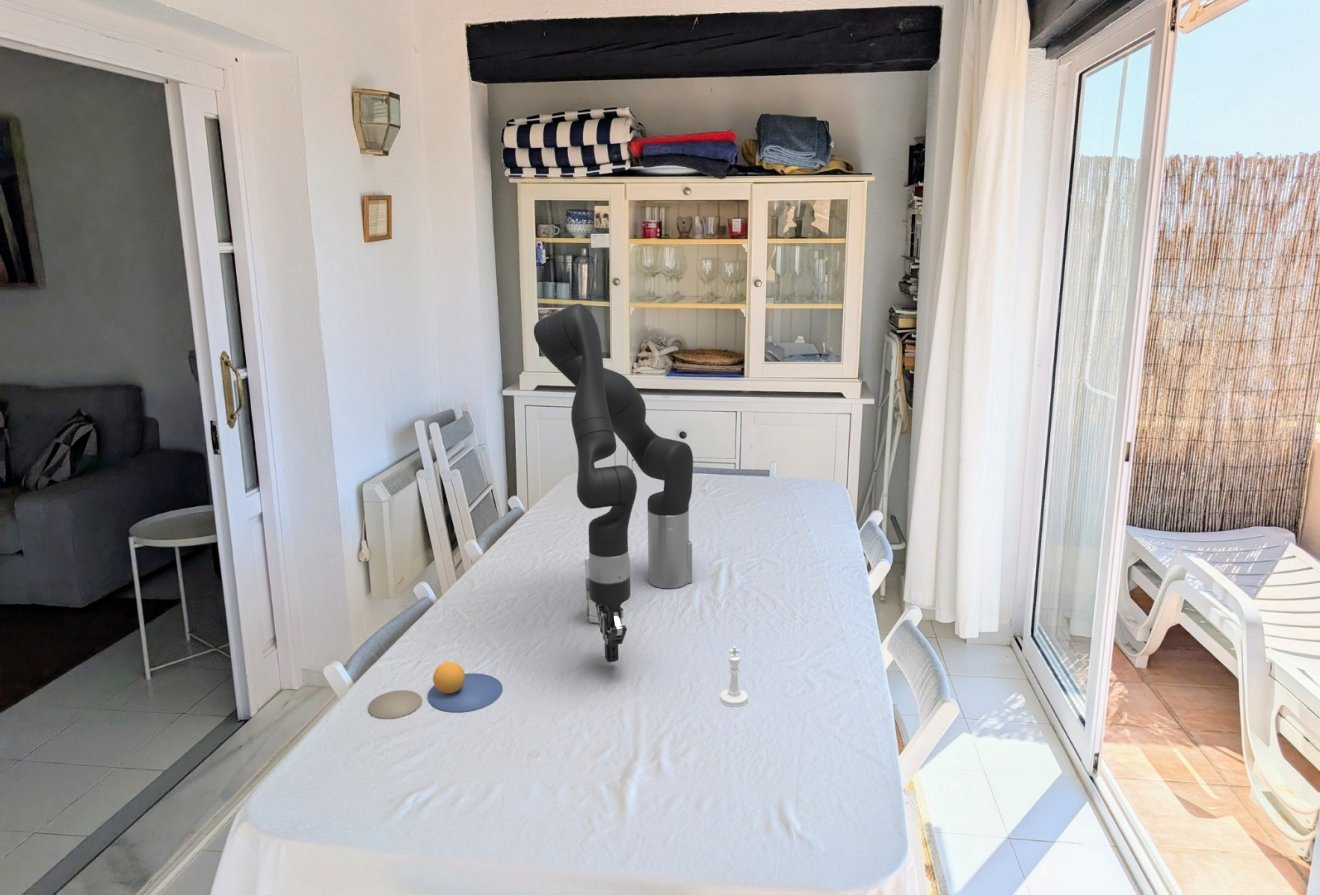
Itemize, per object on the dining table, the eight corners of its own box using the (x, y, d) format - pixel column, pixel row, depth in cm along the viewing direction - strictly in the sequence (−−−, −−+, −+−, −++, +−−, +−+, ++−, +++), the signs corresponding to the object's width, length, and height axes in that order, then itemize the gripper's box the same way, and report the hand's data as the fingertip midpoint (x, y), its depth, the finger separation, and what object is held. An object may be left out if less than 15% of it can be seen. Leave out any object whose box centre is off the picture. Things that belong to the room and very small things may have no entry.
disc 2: (496, 669, 170) (496, 668, 170) (507, 704, 158) (507, 703, 158) (424, 681, 166) (424, 680, 166) (431, 718, 154) (430, 717, 154)
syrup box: (622, 615, 192) (620, 550, 188) (611, 627, 186) (610, 560, 183) (597, 611, 194) (595, 547, 190) (586, 623, 188) (583, 557, 184)
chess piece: (717, 692, 161) (718, 641, 159) (745, 691, 162) (746, 639, 159) (722, 707, 157) (722, 654, 154) (750, 705, 157) (751, 653, 154)
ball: (444, 689, 165) (470, 672, 166) (444, 705, 160) (471, 687, 160) (426, 667, 163) (453, 650, 164) (426, 683, 158) (453, 665, 158)
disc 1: (419, 687, 164) (419, 686, 164) (423, 713, 156) (423, 712, 156) (367, 696, 161) (367, 695, 161) (368, 723, 153) (368, 722, 153)
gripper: (640, 584, 161) (641, 673, 165) (619, 557, 173) (621, 641, 177) (598, 590, 158) (601, 680, 163) (580, 563, 170) (583, 647, 175)
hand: (611, 659), depth 170 cm, fingers closed
